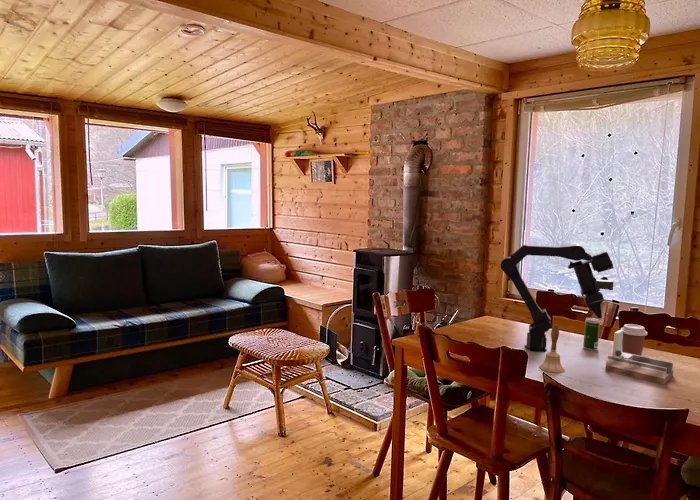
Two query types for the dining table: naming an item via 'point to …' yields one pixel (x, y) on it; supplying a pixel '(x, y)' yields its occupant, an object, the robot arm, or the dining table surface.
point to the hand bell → (553, 355)
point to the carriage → (619, 346)
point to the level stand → (641, 368)
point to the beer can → (591, 333)
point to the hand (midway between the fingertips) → (598, 315)
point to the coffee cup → (633, 339)
